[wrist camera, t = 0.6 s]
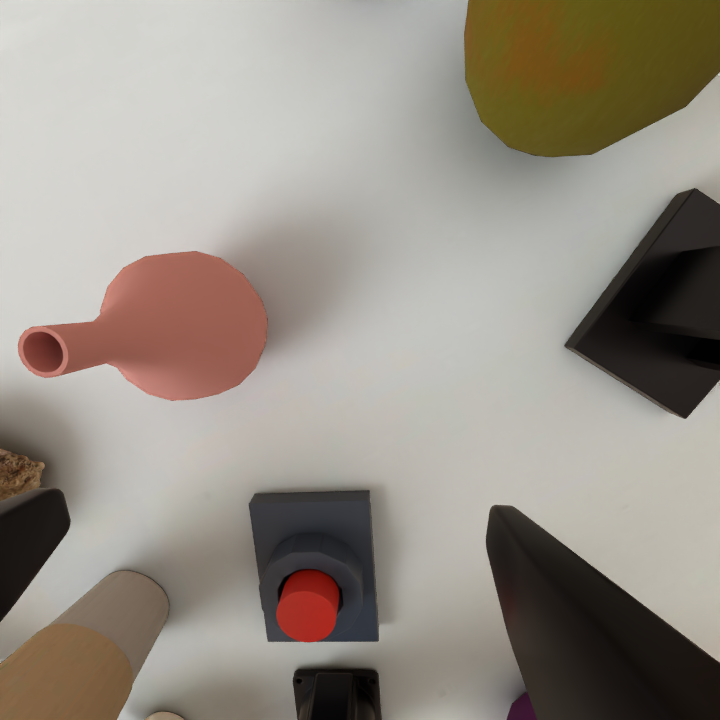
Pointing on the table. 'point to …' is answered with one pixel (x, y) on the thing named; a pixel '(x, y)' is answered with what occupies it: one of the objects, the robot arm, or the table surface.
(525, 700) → the perfume bottle
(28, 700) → the coffee cup
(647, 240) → the bracket
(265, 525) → the control block
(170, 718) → the cup
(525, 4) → the apple
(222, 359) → the pink vase
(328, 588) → the button
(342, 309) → the table surface
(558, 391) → the table surface
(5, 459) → the brown rough chunky piece
